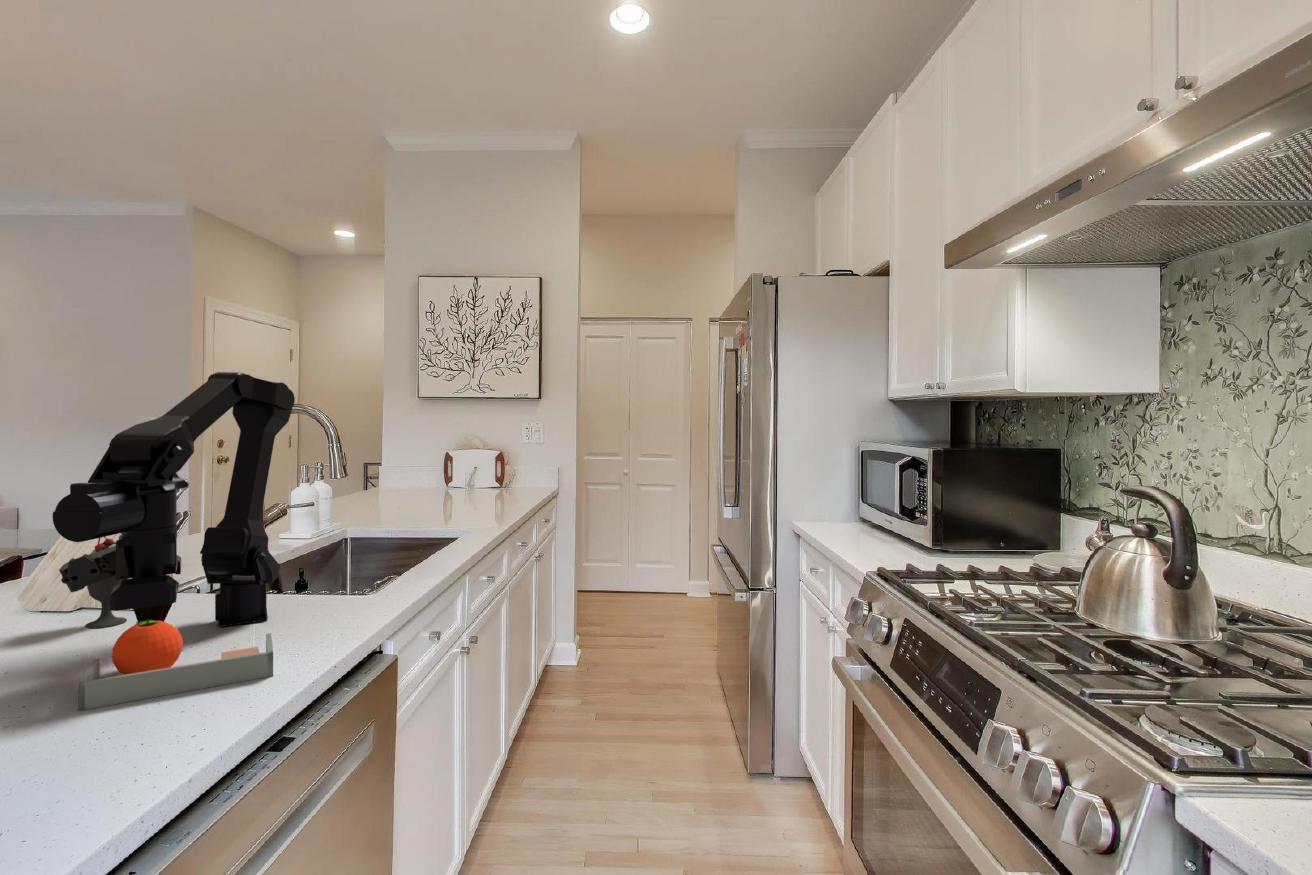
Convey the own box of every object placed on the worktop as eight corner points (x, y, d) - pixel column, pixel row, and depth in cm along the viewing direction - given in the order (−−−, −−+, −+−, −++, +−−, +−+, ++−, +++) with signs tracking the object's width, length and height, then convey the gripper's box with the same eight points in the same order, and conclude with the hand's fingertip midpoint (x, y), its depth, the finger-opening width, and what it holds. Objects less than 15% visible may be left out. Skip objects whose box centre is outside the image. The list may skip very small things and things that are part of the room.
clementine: (101, 676, 78) (100, 620, 78) (168, 659, 84) (168, 606, 83) (122, 693, 73) (121, 634, 73) (192, 674, 79) (191, 618, 79)
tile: (257, 664, 83) (257, 646, 83) (260, 675, 80) (260, 655, 80) (221, 671, 81) (221, 652, 81) (222, 682, 78) (222, 662, 77)
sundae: (86, 633, 93) (86, 533, 93) (71, 625, 97) (70, 529, 96) (141, 621, 99) (140, 528, 98) (124, 614, 102) (124, 523, 102)
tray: (271, 654, 86) (271, 633, 86) (273, 675, 79) (273, 652, 79) (93, 683, 76) (93, 659, 76) (77, 710, 69) (77, 683, 69)
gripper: (78, 519, 85) (79, 631, 85) (50, 546, 70) (51, 682, 70) (181, 513, 91) (181, 618, 92) (175, 537, 76) (175, 662, 77)
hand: (149, 642), depth 83 cm, fingers closed
